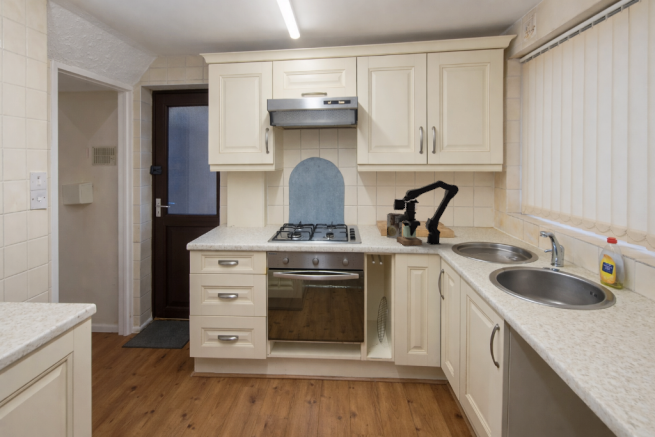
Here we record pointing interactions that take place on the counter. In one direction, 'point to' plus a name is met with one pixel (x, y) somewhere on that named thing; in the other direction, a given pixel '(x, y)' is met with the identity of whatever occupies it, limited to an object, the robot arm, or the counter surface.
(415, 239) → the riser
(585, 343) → the counter surface
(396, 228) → the coffee box
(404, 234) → the cube
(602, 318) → the counter surface
